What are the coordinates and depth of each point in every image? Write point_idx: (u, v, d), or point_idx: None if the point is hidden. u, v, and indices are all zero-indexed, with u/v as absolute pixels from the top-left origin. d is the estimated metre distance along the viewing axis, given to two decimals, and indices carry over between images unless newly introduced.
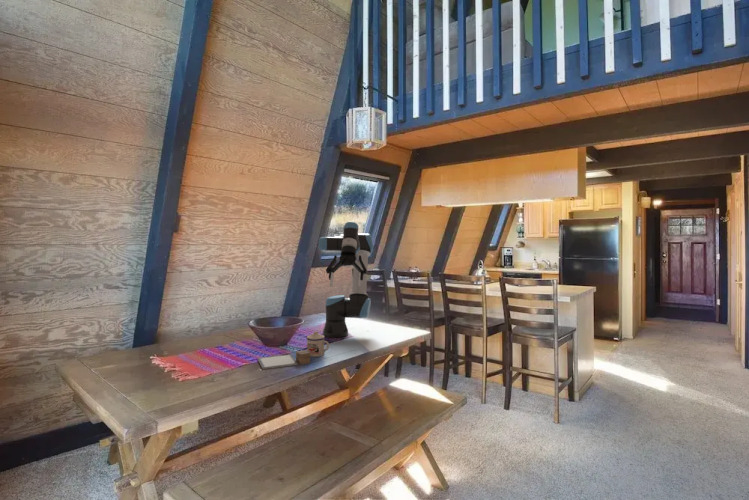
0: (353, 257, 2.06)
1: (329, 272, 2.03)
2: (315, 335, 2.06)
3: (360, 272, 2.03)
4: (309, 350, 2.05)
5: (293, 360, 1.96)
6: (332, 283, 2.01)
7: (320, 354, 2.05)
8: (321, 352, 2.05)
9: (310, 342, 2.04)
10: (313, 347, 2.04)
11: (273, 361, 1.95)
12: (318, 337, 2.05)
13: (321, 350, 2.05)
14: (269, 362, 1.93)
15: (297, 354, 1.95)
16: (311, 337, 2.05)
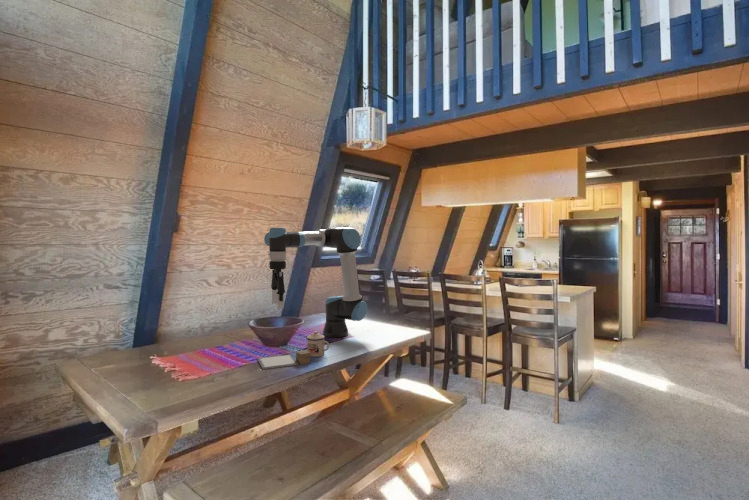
0: (276, 273, 1.91)
1: None
2: (315, 335, 2.06)
3: None
4: (309, 350, 2.05)
5: (293, 360, 1.96)
6: (277, 300, 2.01)
7: (320, 354, 2.05)
8: (321, 352, 2.05)
9: (310, 342, 2.04)
10: (313, 347, 2.04)
11: (273, 361, 1.95)
12: (318, 337, 2.05)
13: (321, 350, 2.05)
14: (269, 362, 1.93)
15: (297, 354, 1.95)
16: (311, 337, 2.05)
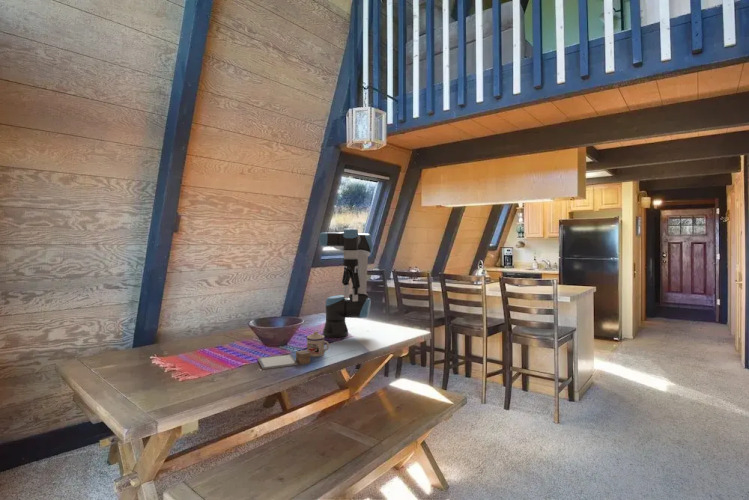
0: (350, 270, 2.12)
1: (344, 284, 2.23)
2: (315, 335, 2.06)
3: None
4: (309, 350, 2.05)
5: (293, 360, 1.96)
6: (348, 294, 2.22)
7: (320, 354, 2.05)
8: (321, 352, 2.05)
9: (310, 342, 2.04)
10: (313, 347, 2.04)
11: (273, 361, 1.95)
12: (318, 337, 2.05)
13: (321, 350, 2.05)
14: (269, 362, 1.93)
15: (297, 354, 1.95)
16: (311, 337, 2.05)
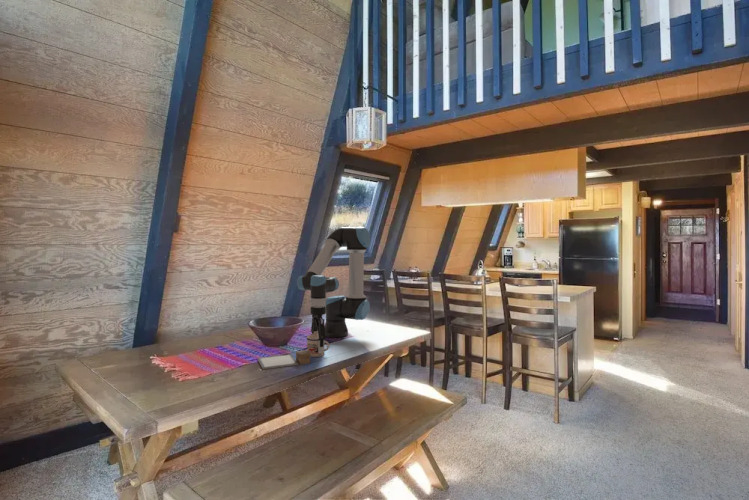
0: (317, 319, 2.04)
1: (312, 333, 2.14)
2: (315, 335, 2.06)
3: None
4: (309, 350, 2.05)
5: (293, 360, 1.96)
6: None
7: (320, 354, 2.05)
8: None
9: (310, 342, 2.04)
10: (313, 347, 2.04)
11: (273, 361, 1.95)
12: (318, 337, 2.05)
13: None
14: (269, 362, 1.93)
15: (297, 354, 1.95)
16: (311, 337, 2.05)
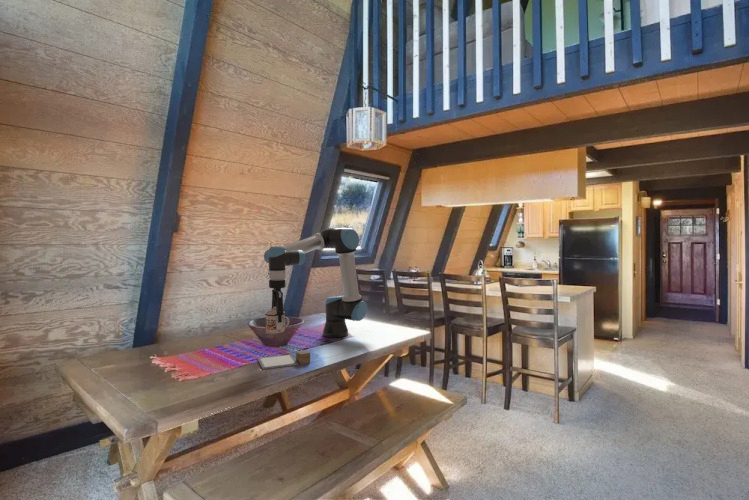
0: (276, 292, 1.91)
1: None
2: (274, 310, 1.92)
3: None
4: (268, 326, 1.91)
5: (293, 360, 1.96)
6: None
7: (279, 330, 1.91)
8: None
9: (268, 318, 1.91)
10: (271, 323, 1.90)
11: (273, 361, 1.95)
12: None
13: None
14: (269, 362, 1.93)
15: (297, 354, 1.95)
16: (270, 312, 1.91)
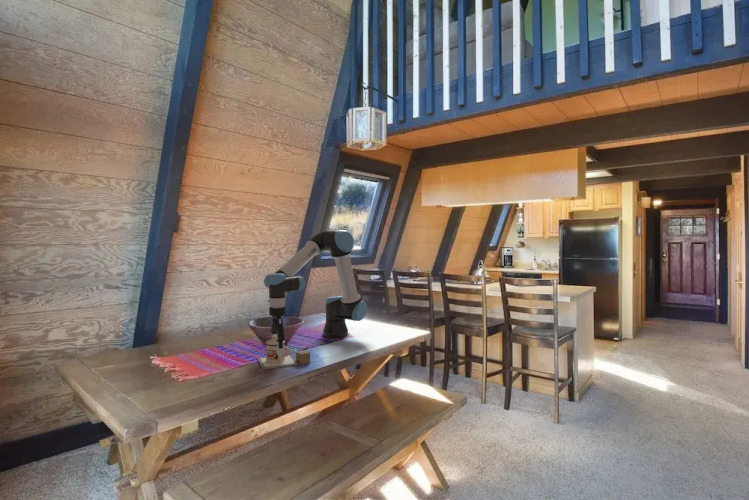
0: (276, 320, 1.92)
1: None
2: (274, 340, 1.93)
3: None
4: (268, 356, 1.92)
5: (293, 360, 1.96)
6: None
7: (279, 360, 1.92)
8: (281, 358, 1.93)
9: (269, 348, 1.92)
10: (271, 353, 1.91)
11: None
12: None
13: (281, 356, 1.93)
14: None
15: (297, 354, 1.95)
16: (270, 342, 1.92)
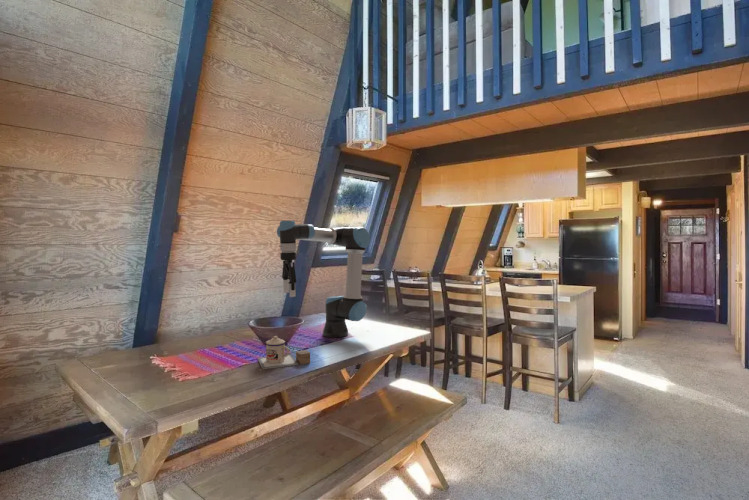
0: (287, 264, 2.01)
1: None
2: (274, 340, 1.93)
3: None
4: (268, 356, 1.92)
5: (293, 360, 1.96)
6: (288, 289, 2.11)
7: (279, 360, 1.92)
8: (281, 358, 1.93)
9: (269, 348, 1.92)
10: (271, 353, 1.91)
11: None
12: (277, 342, 1.92)
13: (281, 356, 1.93)
14: None
15: (297, 354, 1.95)
16: (270, 342, 1.92)
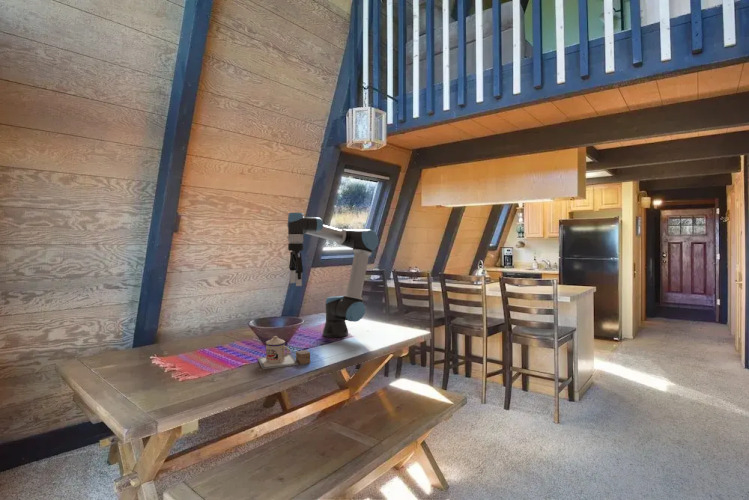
0: (294, 254, 2.08)
1: None
2: (274, 340, 1.93)
3: (300, 270, 2.06)
4: (268, 356, 1.92)
5: (293, 360, 1.96)
6: (294, 280, 2.18)
7: (279, 360, 1.92)
8: (281, 358, 1.93)
9: (269, 348, 1.92)
10: (271, 353, 1.91)
11: None
12: (277, 342, 1.92)
13: (281, 356, 1.93)
14: None
15: (297, 354, 1.95)
16: (270, 342, 1.92)
